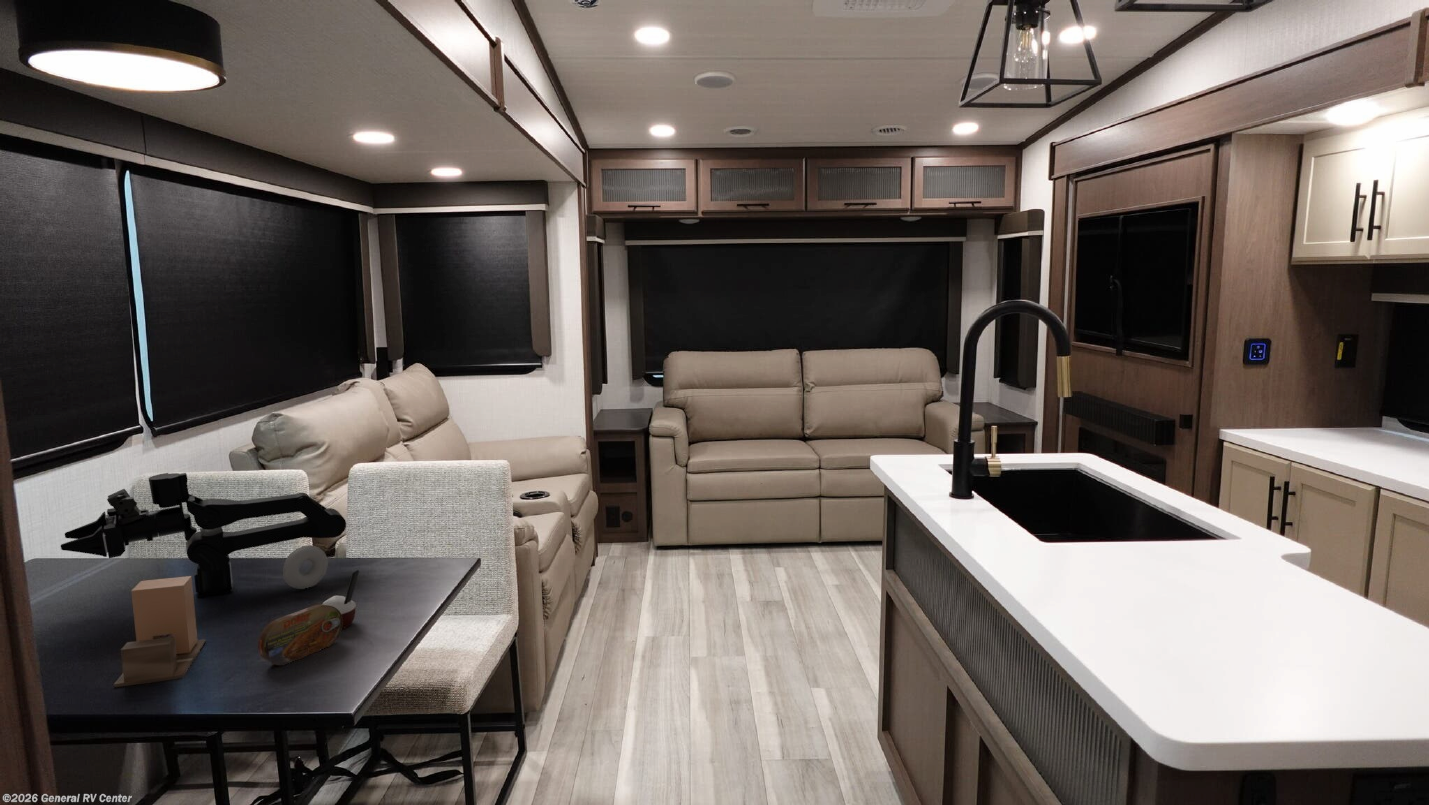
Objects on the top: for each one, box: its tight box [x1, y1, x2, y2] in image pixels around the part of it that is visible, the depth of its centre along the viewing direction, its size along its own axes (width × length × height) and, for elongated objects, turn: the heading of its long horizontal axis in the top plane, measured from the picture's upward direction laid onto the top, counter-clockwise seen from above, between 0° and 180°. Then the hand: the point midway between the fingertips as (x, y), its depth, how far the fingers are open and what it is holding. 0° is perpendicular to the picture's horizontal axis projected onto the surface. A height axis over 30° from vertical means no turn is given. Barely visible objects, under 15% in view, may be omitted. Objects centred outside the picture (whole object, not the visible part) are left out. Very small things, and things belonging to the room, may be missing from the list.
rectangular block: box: [130, 575, 199, 654], centre depth 143 cm, size 5×8×13 cm, turn 110°
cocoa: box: [321, 569, 360, 629], centre depth 156 cm, size 10×6×12 cm, turn 54°
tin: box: [258, 604, 343, 666], centre depth 144 cm, size 15×3×8 cm, turn 148°
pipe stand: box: [113, 637, 207, 688], centre depth 140 cm, size 15×10×7 cm, turn 20°
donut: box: [282, 544, 329, 590], centre depth 176 cm, size 10×3×10 cm, turn 147°
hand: (63, 541), depth 158 cm, fingers open, 9 cm apart
